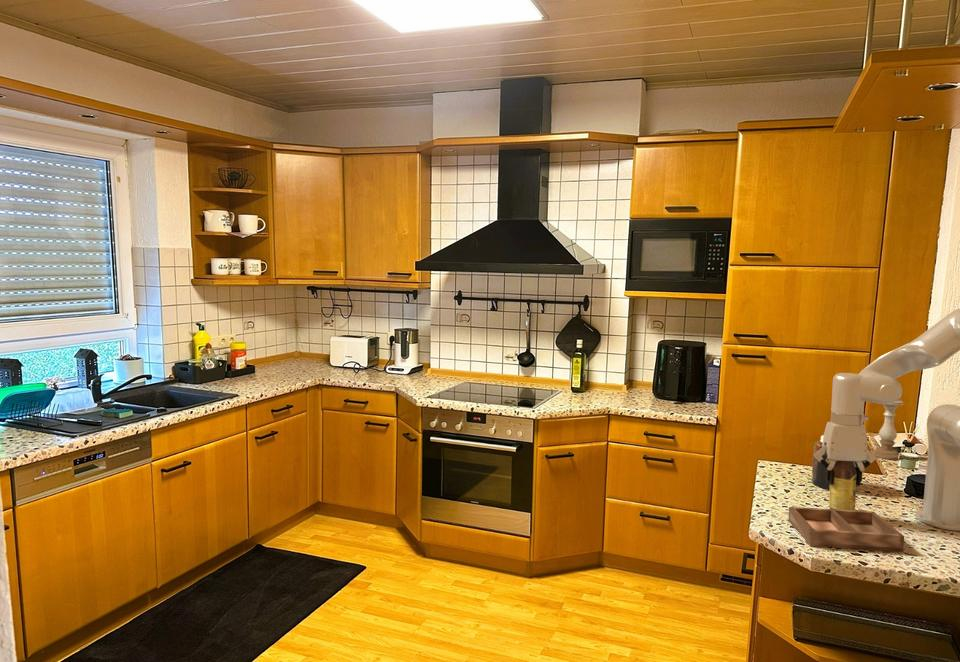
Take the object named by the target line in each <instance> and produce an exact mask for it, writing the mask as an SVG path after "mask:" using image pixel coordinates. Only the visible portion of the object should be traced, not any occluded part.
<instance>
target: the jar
mask: <svg viewBox="0 0 960 662" xmlns="http://www.w3.org/2000/svg"><path fill="white" fill-rule="evenodd" d="M823 437H824V434H822V435H821V436H820V440H817V441H815V442H814V446H813V453H812V467H811V468H812V469H811V483H812V485H814V486H816V487H817V488H819V489H823V490H827V491H830V484H829V483H828V482H827V481H826V480H825V467H824V466H823V465H822V464H821V463H820V462H819V461H818V460H817V459H816V458H815V457H814V453H816V452H817V451H818V450H819V449H820V448H822V443H823ZM822 458H823V459H824V460H825V461H826V459H827V456H824V455H822ZM853 464H854V462H853ZM854 467H855V464H854Z"/></svg>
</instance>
